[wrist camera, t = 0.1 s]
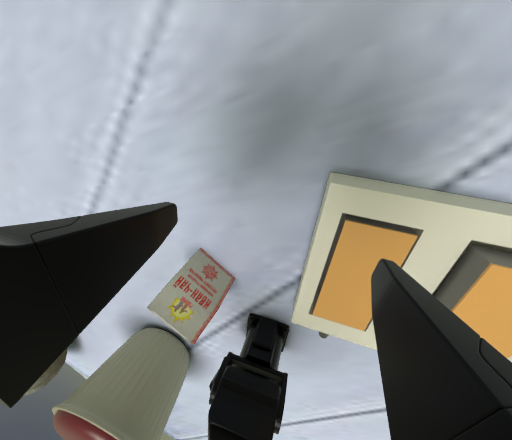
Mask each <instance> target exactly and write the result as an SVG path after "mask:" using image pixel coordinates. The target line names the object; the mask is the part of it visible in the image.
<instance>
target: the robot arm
mask: <svg viewBox="0 0 512 440" xmlns="http://www.w3.org/2000/svg"><path fill="white" fill-rule="evenodd" d="M177 220H178V218H177V206H176V205H175V204H174V203H170V202H163V203H157V204H151V205H145V206H139V207H133V208H127V209H120V210H114V211H108V212H102V213H96V214H90V215H84V216H82V217H81V216H77V217H71V218H65V219H58V220H51V221H44V222H36V223H28V224H20V225H12V226H4V227H0V403H2V404H3V405H5V406H7V407H9V408H11V407H12V406H14V405H15V404H16V403H17V402H18V401H19V400H20V399H21V398H22V396H23V395H24V394H25V393H26V392H27V391H28V390H29V389H30V388H31V387H32V386H33V384H34V383H35V382H36V381H37V380H38V379H39V378H40V377H41V376H42V375H43V374H44V372H45V371H46V370H47V369H48V368H49V367H50V366H51V365H52V364H53V363H54V362H55V361H56V359H57V358H58V357H59V356H60V355H61V354H62V353H63V352H64V351H65V350H66V349H67V347H68V346H69V345H70V344H71V343H72V342H73V341H74V340H75V339H76V338H77V337H78V335H79V334H80V333H81V332H82V331H83V330H84V329H85V328H86V327H87V325H88V324H89V323H90V322H91V321H92V320H93V319H94V318H95V317H96V316H97V315H98V313H99V312H100V311H101V310H102V309H103V308H104V307H105V306H106V305H107V304H108V303H109V301H110V300H111V299H112V298H113V297H114V296H115V295H116V294H117V293H118V292H119V291H120V290H121V288H122V287H123V286H124V285H125V284H126V283H127V282H128V281H129V280H130V279H131V278H132V276H133V275H134V274H135V273H136V272H137V271H138V270H139V269H140V268H141V267H142V266H143V264H144V263H145V262H146V261H147V260H148V259H149V258H150V257H151V256H152V255H153V254H154V253H155V251H156V250H157V249H158V248H159V247H160V245H161V244H162V243H163V242H164V240H165V239H166V237H167V236H168V235H169V233H170V232H171V231H172V229H173V228H174V227H175V225H176V224H177ZM371 304H372V319H373V325H374V332H375V338H376V345H377V351H378V358H379V364H380V371H381V377H382V384H383V390H384V397H385V403H386V410H387V416H388V423H389V429H390V436H391V440H512V362H511V361H510V360H508V359H507V358H506V357H505V356H504V355H502V354H501V353H500V352H499V351H498V350H496V349H495V348H494V347H493V346H492V345H491V344H489V343H488V342H487V341H486V340H485V339H484V338H480V335H479V334H478V333H476V332H475V331H474V330H473V329H472V328H471V327H469V326H468V325H467V324H466V323H465V322H464V321H462V320H461V319H460V318H459V317H458V316H457V315H455V314H454V313H453V312H452V311H451V310H450V309H448V308H447V307H446V306H445V305H444V304H443V303H441V302H440V301H439V300H438V299H437V298H436V297H434V296H433V295H432V294H431V293H430V292H429V291H427V290H426V289H425V288H424V287H423V286H422V285H420V284H419V283H418V282H417V281H416V280H415V279H413V278H412V277H411V276H410V275H409V274H408V273H406V272H405V271H404V270H403V269H402V268H401V267H399V266H398V265H397V264H396V263H395V262H394V261H391V260H387V259H383V258H382V259H380V260H379V262H378V264H377V265H376V267H375V269H374V271H373V273H372V276H371ZM288 332H289V327H288V326H287V325H284V324H281V323H278V322H275V321H272V320H269V319H266V318H263V317H260V316H256V315H253V314H250V315H249V318H248V326H247V334H246V340H245V342H244V345H243V348H242V351H241V354H240V356H238V355H235V354H233V353H232V352H229V353H228V355H227V357H224V360H223V362H222V364H221V367H220V369H219V370H218V372H217V374H216V375H215V377H214V378H213V380H212V381H211V383H210V386H209V387H210V391H211V393H210V400H209V404H210V405H211V407H210V410H209V415H208V440H272V438H273V433H276V434H278V433H279V430H280V426H281V421H282V416H283V410H284V404H285V395H286V386H287V377H288V374H287V373H282V372H280V371H277V370H278V365H279V360H280V355H281V352H283V349H284V346H285V342H286V339H287V335H288Z"/></svg>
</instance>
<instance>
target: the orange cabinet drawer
mask: <svg viewBox="0 0 512 440" xmlns="http://www.w3.org/2000/svg"><path fill="white" fill-rule="evenodd" d="M417 237H418V236H417V234H416V233H415V231H414V230H413V228H412V227H408V226H403V225H398V224H393V223H389V222H384V221H379V220H374V219H369V218H365V217H360V216H355V215H350V214H346V213H342V215H341V218H340V221H339V224H338V227H337V230H336V233H335V236H334V239H333V242H332V245H331V248H330V251H329V254H328V257H327V260H326V263H325V266H324V269H323V272H322V275H321V278H320V281H319V284H318V287H317V290H316V293H315V296H314V302H313V314H312V315H314V316H317V317H321V318H324V319H327V320H330V321H333V322H337V323H340V324H343V325H346V326H349V327H353V328H356V329H359V330H362V331H364V330H365V328H366V327H367V325H368V323H369V321H370V320H371V318H372V304H371V276H372V273H373V271H374V269H375V267H376V265H377V264H378V262H379V260H380V259H382V258H383V259H387V260H391V261H394V262H395V263H396V264H397V265H398V266H399V267H401V265H402V263H403V262H404V260H405V258H406V256H407V254H408V253H409V251H410V249H411V247H412V246H413V244H414V242H415V240H416V239H417Z"/></svg>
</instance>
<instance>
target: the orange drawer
mask: <svg viewBox="0 0 512 440" xmlns="http://www.w3.org/2000/svg"><path fill="white" fill-rule="evenodd" d="M434 297H436V298H437V299H438V300H439V301H440V302H441V303H443V304H444V305H445V306H446V307H447V308H448V309H450V310H451V311H452V312H453V313H454V314H455V315H457V316H458V317H459V318H460V319H461V320H462V321H464V322H465V323H466V324H467V325H468V326H469V327H471V328H472V329H473V330H474V331H475V332H476V333H478V334H479V335H480V338H484V339H485V340H486V341H487V342H488V343H489V344H491V345H492V346H493V347H494V348H495V349H496V350H498V351H499V352H500V353H501V354H502V355H504V356H505V357H506V358H507V359H508V358H509V357H511V356H512V253H511V252H506V251H501V250H497V249H492V248H487V247H482V246H478V245H473V244H471V245H470V247H469V248H468V250H467V251H466V252H465V254H464V255H463V256H462V258H461V259H460V260H459V262H458V263H457V265H456V266H455V267H454V269H453V270H452V271H451V273H450V274H449V275H448V277H447V278H446V280H445V281H444V282H443V284H442V285H441V286H440V288H439V289H438V290H437V292H436V293H435V295H434Z"/></svg>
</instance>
